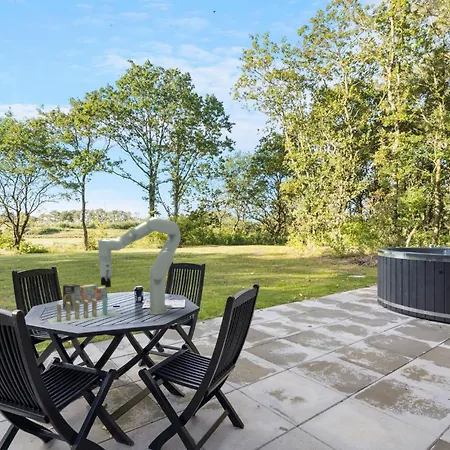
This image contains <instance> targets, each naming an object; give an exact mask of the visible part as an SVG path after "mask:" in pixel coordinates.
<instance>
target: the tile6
mask: <svg viewBox="0 0 450 450" xmlns="http://www.w3.org/2000/svg"><path fill="white" fill-rule="evenodd" d="M56 318H57V321H58V322H61V318H62V303H61V302H57V303H56Z"/></svg>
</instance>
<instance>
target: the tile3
mask: <svg viewBox="0 0 450 450" xmlns="http://www.w3.org/2000/svg"><path fill="white" fill-rule="evenodd" d="M88 314H89V303H88V301H87V300H84V304H83V315H84V317H85V318H88Z"/></svg>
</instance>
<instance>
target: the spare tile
mask: <svg viewBox="0 0 450 450" xmlns="http://www.w3.org/2000/svg"><path fill="white" fill-rule="evenodd" d="M102 312H103V315H107V312H108V298H107V299H106V298H103V300H102Z"/></svg>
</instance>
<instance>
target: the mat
mask: <svg viewBox="0 0 450 450" xmlns="http://www.w3.org/2000/svg"><path fill="white" fill-rule="evenodd" d="M117 316H118V317H119V316H121V313H119V312H117V311H116V310H112V311H110V310H109V311H107V315H103V311H101V312H97V317H93V316H92V313H88V318H85V317H84V314H80V319H76V318H75V315H71V320H69V321H68V320H67V319H66V316H65V317H61V322H58V321H57V317H56V318H49V319H47V322H48V324H49V325H50V326H53V325H60V324H68V323H75V322H81V321H88V320H89V321H90V320H97V319H102V318H109V317H117Z"/></svg>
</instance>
